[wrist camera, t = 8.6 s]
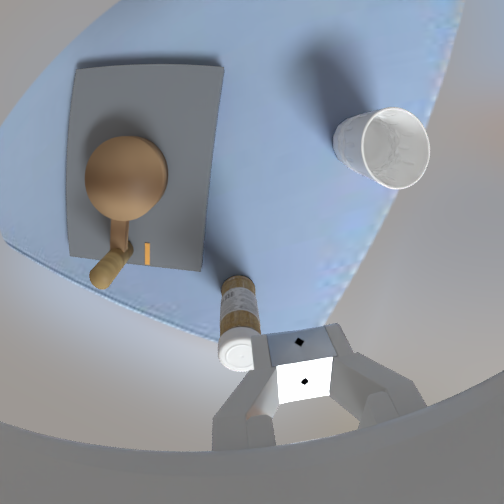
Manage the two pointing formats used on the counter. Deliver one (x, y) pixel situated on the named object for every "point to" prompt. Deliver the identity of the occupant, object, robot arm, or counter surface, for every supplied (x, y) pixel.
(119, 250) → the dial
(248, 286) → the sprinkles bottle
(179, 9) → the counter surface
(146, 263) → the stand
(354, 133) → the white cup
